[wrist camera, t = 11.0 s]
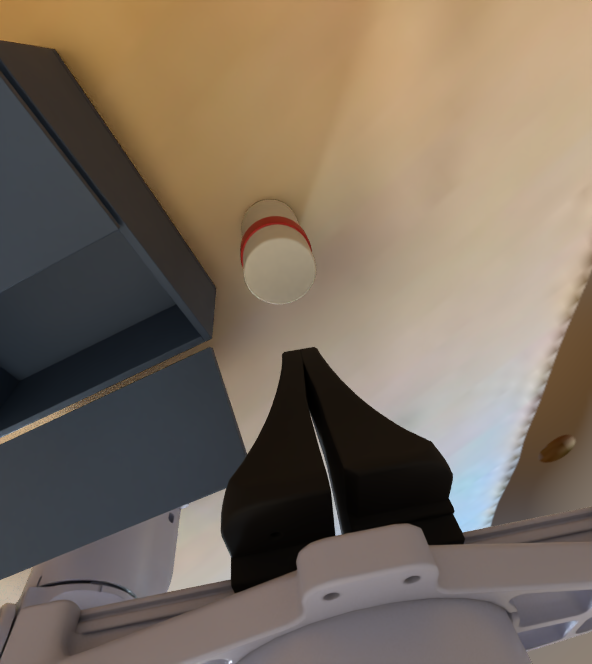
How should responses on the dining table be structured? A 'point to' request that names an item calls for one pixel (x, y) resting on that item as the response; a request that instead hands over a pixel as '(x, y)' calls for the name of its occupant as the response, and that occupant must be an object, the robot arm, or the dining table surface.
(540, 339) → the dining table surface
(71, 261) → the carton
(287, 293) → the red-banded cylinder
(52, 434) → the flap
